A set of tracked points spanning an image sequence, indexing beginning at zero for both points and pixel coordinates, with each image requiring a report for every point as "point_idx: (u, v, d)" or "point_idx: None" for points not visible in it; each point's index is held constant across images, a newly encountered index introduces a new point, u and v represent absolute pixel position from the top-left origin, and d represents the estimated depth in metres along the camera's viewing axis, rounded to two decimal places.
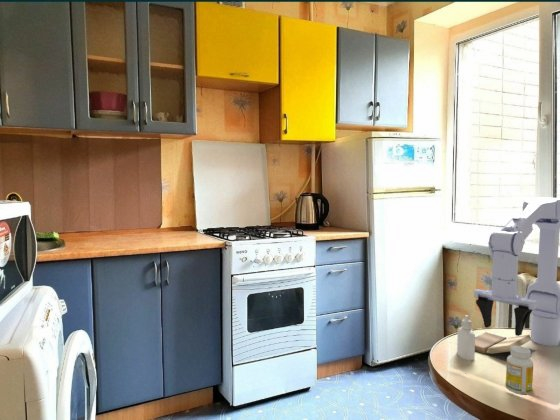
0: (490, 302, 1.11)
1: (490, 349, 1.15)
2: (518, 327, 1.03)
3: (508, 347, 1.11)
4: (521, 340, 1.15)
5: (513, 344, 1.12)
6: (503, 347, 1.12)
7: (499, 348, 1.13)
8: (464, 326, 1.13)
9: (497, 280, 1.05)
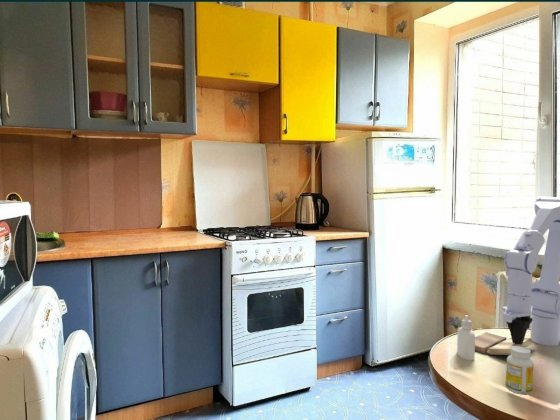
0: None
1: (491, 350, 1.14)
2: (511, 334, 1.16)
3: (510, 350, 1.11)
4: (523, 343, 1.15)
5: None
6: (504, 350, 1.12)
7: (500, 350, 1.12)
8: (464, 326, 1.13)
9: None
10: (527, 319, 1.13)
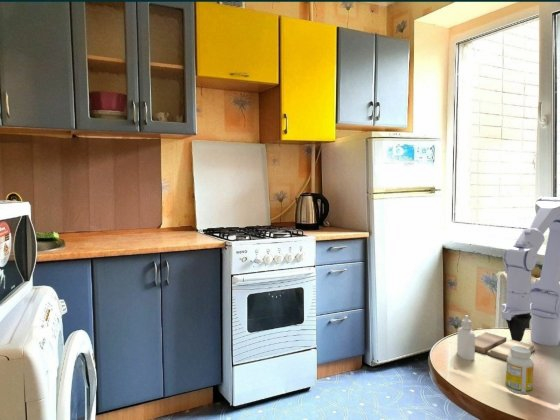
0: None
1: (492, 352, 1.14)
2: (510, 331, 1.16)
3: None
4: None
5: None
6: (506, 356, 1.11)
7: (502, 355, 1.12)
8: (464, 326, 1.13)
9: None
10: (526, 316, 1.13)
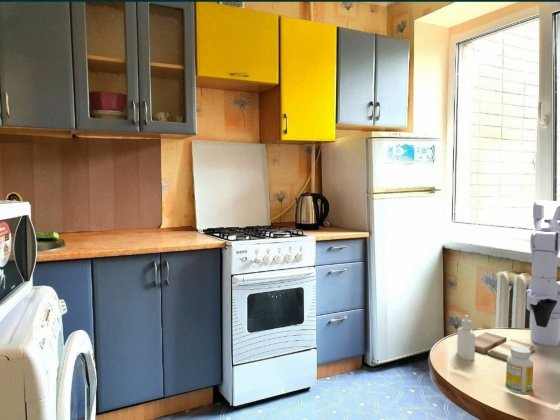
0: None
1: (492, 352, 1.14)
2: (535, 317, 1.14)
3: None
4: None
5: None
6: (506, 356, 1.11)
7: (502, 355, 1.12)
8: (464, 326, 1.13)
9: None
10: (552, 301, 1.11)
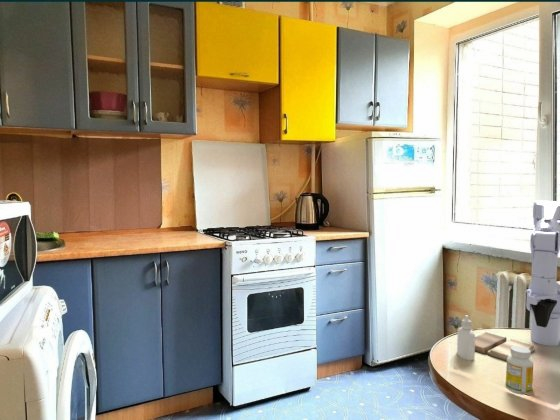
0: None
1: (492, 352, 1.14)
2: (535, 317, 1.14)
3: None
4: None
5: None
6: (506, 356, 1.11)
7: (502, 355, 1.12)
8: (464, 326, 1.13)
9: None
10: (552, 301, 1.11)
